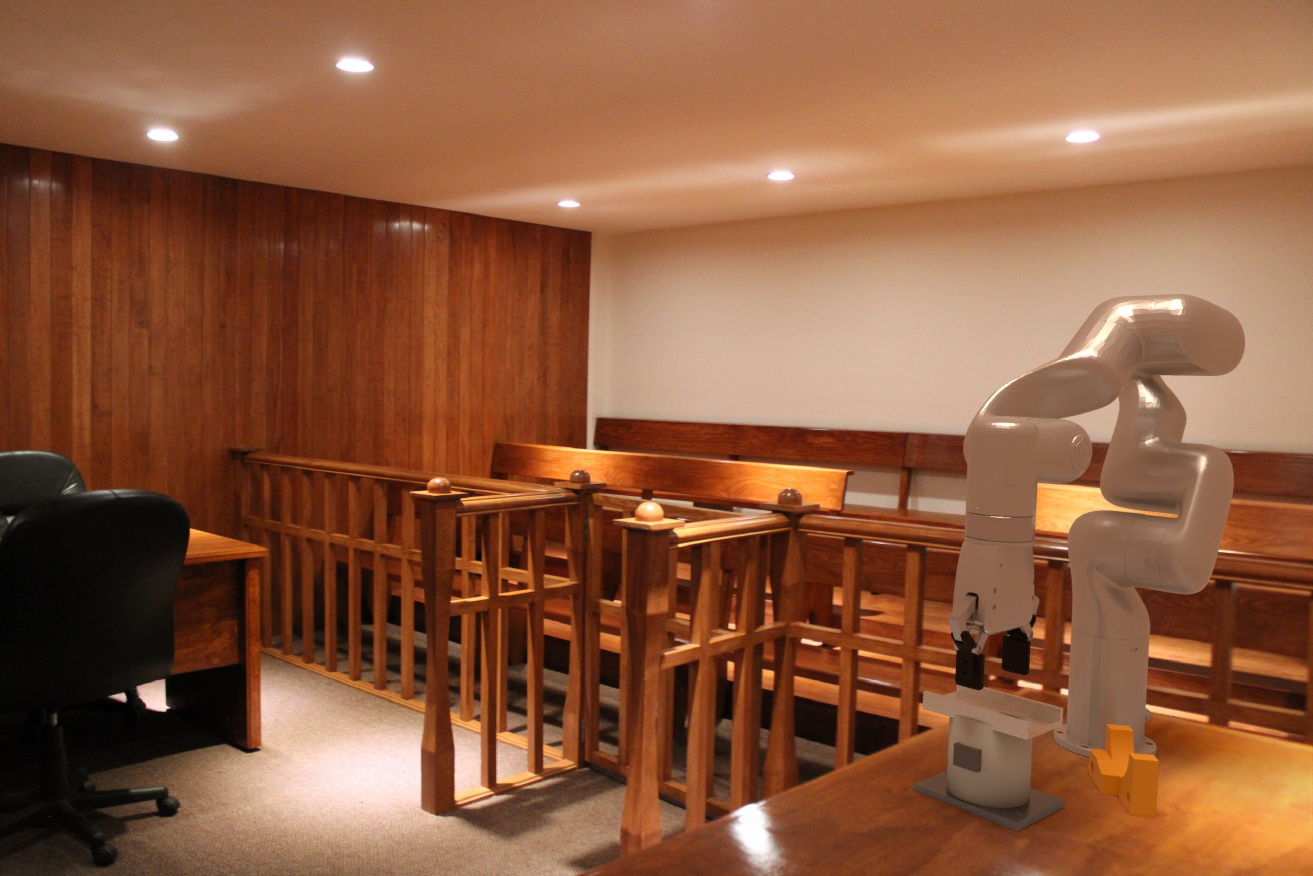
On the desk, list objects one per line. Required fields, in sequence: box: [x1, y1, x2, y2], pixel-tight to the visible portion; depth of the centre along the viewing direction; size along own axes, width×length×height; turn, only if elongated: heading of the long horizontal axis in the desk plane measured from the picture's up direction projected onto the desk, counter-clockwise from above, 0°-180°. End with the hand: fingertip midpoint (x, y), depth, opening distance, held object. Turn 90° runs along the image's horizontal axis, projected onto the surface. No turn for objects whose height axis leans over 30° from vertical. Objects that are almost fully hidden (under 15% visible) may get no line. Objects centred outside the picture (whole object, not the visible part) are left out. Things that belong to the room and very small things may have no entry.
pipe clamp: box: [1088, 724, 1160, 818], centre depth 118 cm, size 12×4×6 cm, turn 170°
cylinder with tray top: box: [912, 684, 1065, 832], centre depth 115 cm, size 10×13×12 cm
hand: (992, 679), depth 115 cm, fingers open, 9 cm apart
